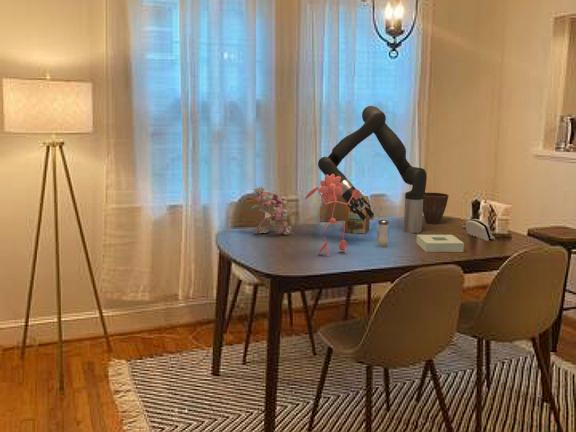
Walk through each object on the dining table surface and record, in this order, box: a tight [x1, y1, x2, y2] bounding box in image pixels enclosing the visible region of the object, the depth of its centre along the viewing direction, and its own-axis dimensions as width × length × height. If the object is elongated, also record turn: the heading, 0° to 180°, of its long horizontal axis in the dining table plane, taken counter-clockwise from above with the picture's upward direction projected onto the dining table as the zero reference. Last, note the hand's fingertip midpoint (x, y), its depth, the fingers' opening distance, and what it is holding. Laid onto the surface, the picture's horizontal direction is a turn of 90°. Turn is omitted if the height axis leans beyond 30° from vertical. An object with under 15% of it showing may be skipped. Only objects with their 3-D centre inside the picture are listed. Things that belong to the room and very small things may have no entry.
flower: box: [251, 186, 294, 236], centre depth 294 cm, size 20×22×25 cm
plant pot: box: [423, 192, 449, 225], centre depth 327 cm, size 15×15×16 cm
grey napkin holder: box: [464, 218, 496, 241], centre depth 294 cm, size 17×5×10 cm, turn 18°
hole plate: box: [416, 234, 465, 253], centre depth 272 cm, size 17×17×4 cm
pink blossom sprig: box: [304, 174, 362, 257], centre depth 259 cm, size 15×26×35 cm, turn 117°
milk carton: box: [344, 195, 371, 235], centre depth 302 cm, size 11×11×19 cm
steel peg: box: [377, 219, 390, 248], centre depth 273 cm, size 5×5×12 cm
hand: (368, 217), depth 275 cm, fingers open, 8 cm apart
